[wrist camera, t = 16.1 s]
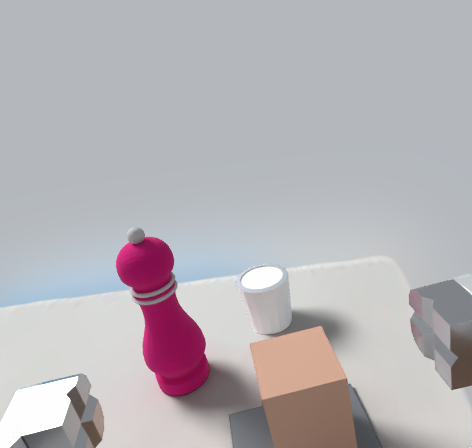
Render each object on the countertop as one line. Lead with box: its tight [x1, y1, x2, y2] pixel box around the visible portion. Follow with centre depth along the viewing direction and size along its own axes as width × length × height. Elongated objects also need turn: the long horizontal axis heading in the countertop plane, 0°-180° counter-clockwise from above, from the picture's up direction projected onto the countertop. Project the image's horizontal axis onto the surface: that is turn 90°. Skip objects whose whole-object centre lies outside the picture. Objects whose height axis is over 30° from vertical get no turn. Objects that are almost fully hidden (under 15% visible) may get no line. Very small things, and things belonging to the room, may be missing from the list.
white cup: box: [236, 264, 292, 334], centre depth 56 cm, size 7×7×7 cm
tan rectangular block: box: [250, 326, 357, 448], centre depth 37 cm, size 7×7×10 cm
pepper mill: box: [116, 227, 209, 396], centre depth 47 cm, size 7×7×20 cm
